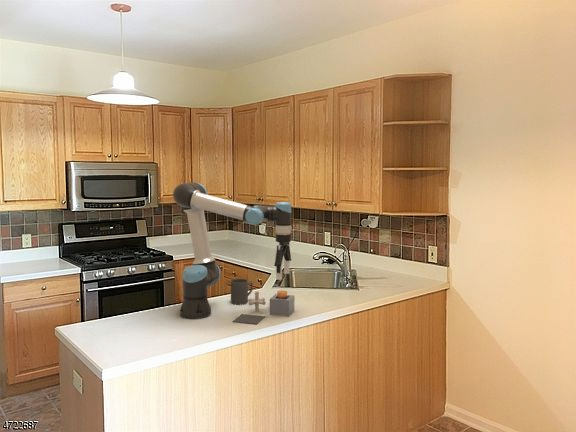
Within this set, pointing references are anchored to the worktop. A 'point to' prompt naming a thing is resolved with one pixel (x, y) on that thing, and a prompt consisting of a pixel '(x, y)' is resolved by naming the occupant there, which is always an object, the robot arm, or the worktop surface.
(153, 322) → the worktop surface
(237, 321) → the mat
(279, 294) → the plunger
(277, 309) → the housing
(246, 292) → the mug
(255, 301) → the beige toy jack
